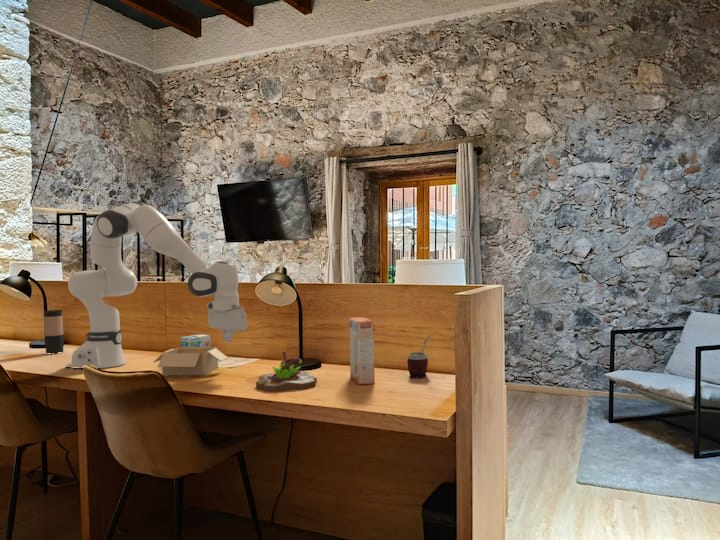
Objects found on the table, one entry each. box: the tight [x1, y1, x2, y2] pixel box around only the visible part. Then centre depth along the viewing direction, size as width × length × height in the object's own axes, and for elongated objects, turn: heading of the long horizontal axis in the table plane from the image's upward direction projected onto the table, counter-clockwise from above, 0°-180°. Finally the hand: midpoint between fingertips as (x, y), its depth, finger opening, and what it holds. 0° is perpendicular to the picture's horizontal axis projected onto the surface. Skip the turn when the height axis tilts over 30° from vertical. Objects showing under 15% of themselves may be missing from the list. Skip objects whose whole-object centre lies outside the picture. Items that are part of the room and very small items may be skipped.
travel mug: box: [43, 309, 64, 353], centre depth 263 cm, size 8×8×20 cm
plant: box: [255, 350, 318, 393], centre depth 187 cm, size 20×20×11 cm
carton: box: [153, 346, 219, 377], centre depth 214 cm, size 21×19×8 cm
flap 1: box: [157, 352, 200, 368], centre depth 202 cm, size 14×1×6 cm
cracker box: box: [348, 316, 376, 385], centre depth 190 cm, size 14×6×21 cm, turn 12°
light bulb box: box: [179, 333, 212, 348], centre depth 232 cm, size 11×7×11 cm, turn 143°
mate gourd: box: [407, 334, 434, 379], centre depth 193 cm, size 8×8×15 cm
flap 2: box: [208, 347, 229, 362], centre depth 209 cm, size 1×7×6 cm
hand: (228, 341), depth 209 cm, fingers closed
